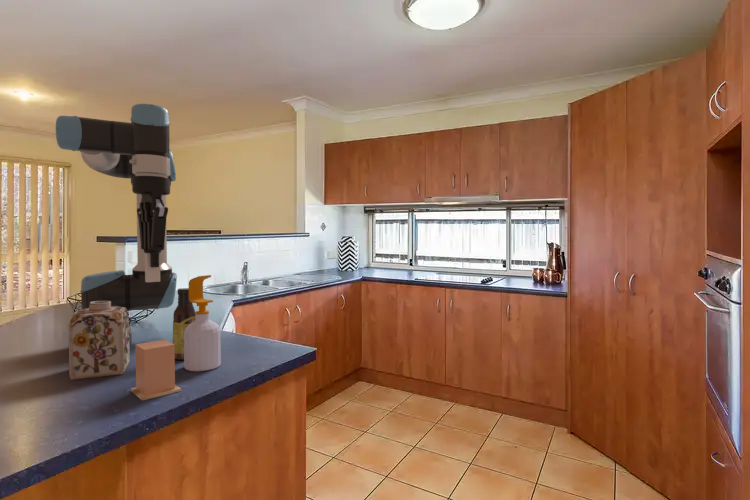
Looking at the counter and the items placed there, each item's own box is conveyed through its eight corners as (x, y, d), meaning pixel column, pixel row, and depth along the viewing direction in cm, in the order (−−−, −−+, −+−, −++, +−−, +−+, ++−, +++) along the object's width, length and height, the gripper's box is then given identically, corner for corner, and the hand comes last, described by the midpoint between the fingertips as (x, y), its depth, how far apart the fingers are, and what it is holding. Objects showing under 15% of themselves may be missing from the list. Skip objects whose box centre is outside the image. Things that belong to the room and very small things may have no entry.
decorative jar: (80, 366, 113) (79, 299, 112) (130, 361, 117) (129, 297, 117) (68, 381, 102) (66, 306, 101) (124, 375, 106) (122, 303, 106)
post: (130, 390, 95) (130, 358, 95) (167, 382, 101) (167, 352, 101) (142, 400, 90) (141, 366, 89) (181, 391, 95) (180, 359, 95)
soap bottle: (198, 374, 107) (197, 277, 106) (177, 368, 112) (175, 275, 111) (228, 365, 114) (227, 274, 114) (206, 359, 119) (205, 273, 118)
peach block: (136, 388, 95) (135, 344, 95) (164, 381, 100) (164, 339, 99) (145, 395, 91) (144, 349, 91) (175, 388, 95) (174, 344, 95)
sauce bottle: (187, 361, 118) (186, 290, 117) (167, 359, 119) (166, 289, 118) (201, 354, 124) (201, 287, 123) (182, 353, 125) (182, 286, 125)
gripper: (123, 177, 96) (125, 280, 97) (142, 172, 87) (144, 285, 88) (158, 180, 102) (160, 277, 103) (180, 175, 93) (181, 283, 94)
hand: (152, 281), depth 96 cm, fingers closed
